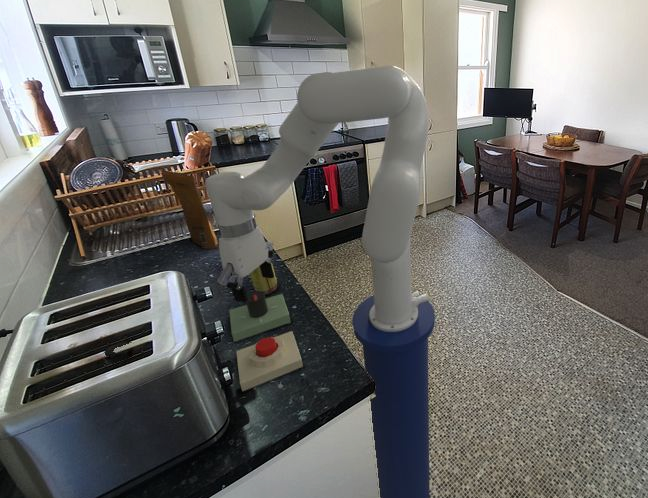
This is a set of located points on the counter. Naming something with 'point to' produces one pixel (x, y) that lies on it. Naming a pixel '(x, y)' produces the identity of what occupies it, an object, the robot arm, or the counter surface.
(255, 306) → the dial
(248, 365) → the button housing
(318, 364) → the counter surface
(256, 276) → the sauce bottle
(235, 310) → the dial panel
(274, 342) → the button
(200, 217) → the pancake mix bag
